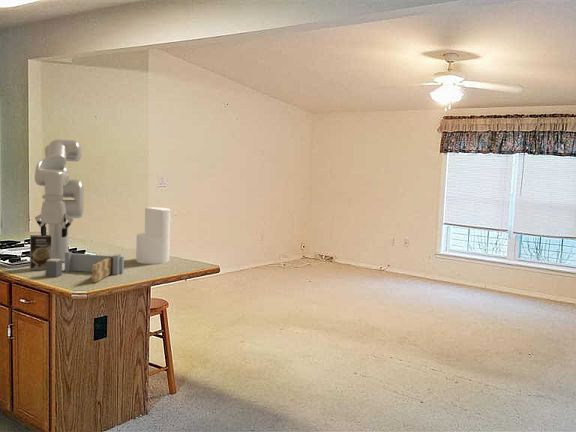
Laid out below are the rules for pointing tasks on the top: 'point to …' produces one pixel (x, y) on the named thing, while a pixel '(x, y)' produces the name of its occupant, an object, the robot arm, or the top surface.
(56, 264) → the grey rectangular block
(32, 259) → the coffee box
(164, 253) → the stepped white column
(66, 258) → the wall
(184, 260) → the top surface
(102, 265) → the door
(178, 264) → the top surface
